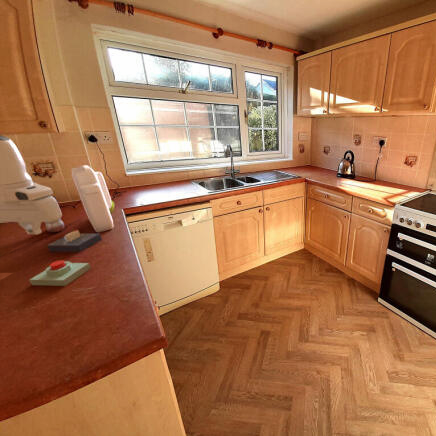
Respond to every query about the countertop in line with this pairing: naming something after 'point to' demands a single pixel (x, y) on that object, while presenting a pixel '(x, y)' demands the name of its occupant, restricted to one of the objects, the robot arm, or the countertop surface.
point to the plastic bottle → (54, 226)
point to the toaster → (94, 197)
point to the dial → (72, 236)
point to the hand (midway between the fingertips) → (35, 233)
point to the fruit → (111, 207)
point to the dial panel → (74, 243)
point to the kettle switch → (57, 265)
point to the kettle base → (60, 274)
